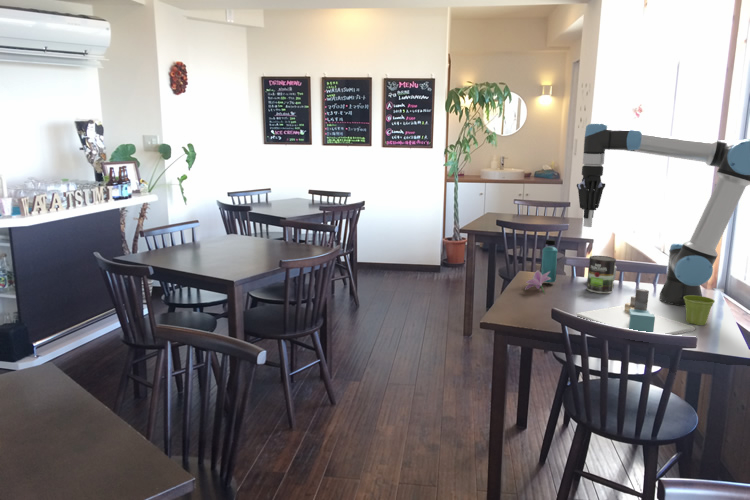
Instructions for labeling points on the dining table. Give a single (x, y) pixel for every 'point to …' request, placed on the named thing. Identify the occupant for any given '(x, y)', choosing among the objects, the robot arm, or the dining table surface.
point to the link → (638, 300)
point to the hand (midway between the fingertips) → (587, 226)
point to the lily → (537, 280)
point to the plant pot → (697, 309)
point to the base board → (622, 317)
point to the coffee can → (601, 274)
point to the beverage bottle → (549, 260)
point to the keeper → (641, 320)
